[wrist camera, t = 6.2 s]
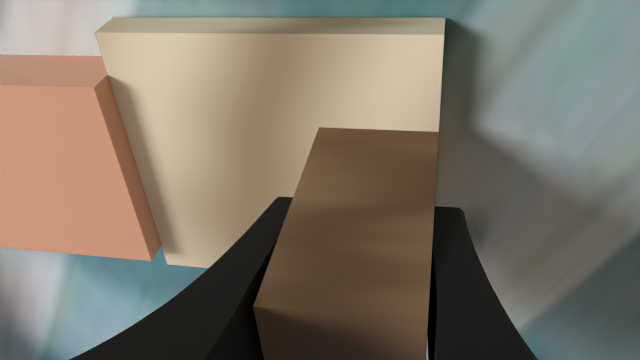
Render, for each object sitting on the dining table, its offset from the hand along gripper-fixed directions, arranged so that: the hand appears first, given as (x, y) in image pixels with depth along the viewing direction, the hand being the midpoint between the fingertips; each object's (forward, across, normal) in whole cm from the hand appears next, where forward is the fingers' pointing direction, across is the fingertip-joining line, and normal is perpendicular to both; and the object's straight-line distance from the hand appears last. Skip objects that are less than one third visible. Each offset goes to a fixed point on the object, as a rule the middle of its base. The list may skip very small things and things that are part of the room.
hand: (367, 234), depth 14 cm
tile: (+3, +10, 0) cm, 11 cm away
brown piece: (+3, +3, 0) cm, 4 cm away
